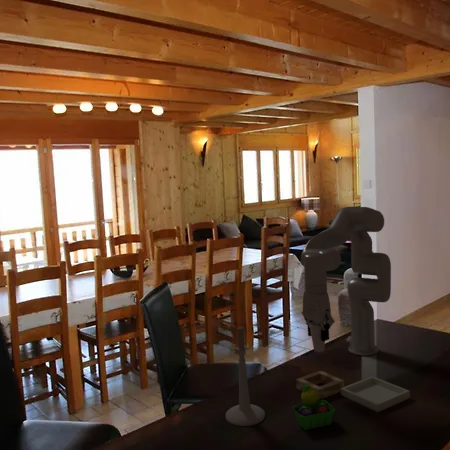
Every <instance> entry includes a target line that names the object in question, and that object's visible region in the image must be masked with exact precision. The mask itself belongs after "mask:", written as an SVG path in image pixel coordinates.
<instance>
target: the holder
mask: <svg viewBox="0 0 450 450" xmlns="http://www.w3.org/2000/svg"><path fill="white" fill-rule="evenodd" d="M295 382H296V383H295V384H296V385H295V386H296V388H295V389H297V390H299V391H301V392H303V386H304V385H307V384H308V385H310V386H312V387H313V388H314V390H315V391H316V392H317V394H318V396H319V400H318V401H320V399H321V400H324V399H326V398H328V396H329V397H331V396H334V395H336V394H338V392H339V393H341V392H340V391H341V389H340V388H343V387H345V384H346V383H345V380H344V379H341V378H339V377H337V376H335V375H333V374H330V373H327V372H325V371H323V370H318V371H315V372H312V373H309V374H307V375H304V376H300V377H299V378H296V379H295ZM318 384H323V385H320V386H319V385H318ZM325 397H326V398H325ZM323 398H324V399H323Z"/></svg>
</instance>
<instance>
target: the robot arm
mask: <svg viewBox="0 0 450 450" xmlns="http://www.w3.org/2000/svg"><path fill="white" fill-rule="evenodd" d="M384 226H385V217H384V215H383V212H381V211H380V210H377V209H374V208H372V207H367V206H344V207H342V208H340V209H339V210H338V211H337V213H336V214H335V216H334V218H333V219H332V221H331V223H330V225H329V226H328V228H327V229H325V230H322V231H321V232H320V233H318V234H316V235H314V236H312V238H310V239H309V240H308V241H307V243H306V244H305V246H304V248H303V250H302V252H301V254H300V262H301V265H302V266H303V271H304V272H303V273H304V291H303V297H302V311H301V315H302V316H303V318H304V320H305V324H306V326H307V336H308V337H312V336H311V331H310V327H309V323H310V322H313V321H315V322H318V323H320V324H321V327H322V330H321V340H322V341H325V342H326V341H329V340H330V329H331V327H332V326H333V324H335V319H334V318H333V317H332V310H331V308H332V307H331V302H330V297H329V292H328V285H327V284H328V282H327V279H328V278H327V272H330V271H334V270H337V269H338V268H339V267H340V265H341V264H342V263H341V262H342V257H341V254H340V252H339V251H337V250H335V249H332V248H335V247H340V246H342V245H344V244H346V243H347V242H348V240H349V238H350V242H351V243H350V245H351V253H350V254H351V257H350V258H351V271H352V272H353V273H354V274H356V275H363V276H375V277H377V278H371V277H370V278H369V277H354V278H353V277H352V278H351V279H350V280H349V281H348V283H347V289H346V290H347V295H348V300H349V306H350V308H349V309H350V327H351V328H350V329H351V331H350V333H351V336H350V335H349V336H347V338H346V340H345V341H346V342H347V343H349V345H348V349H347V351H349V353H350V354H353V355H357V356H363V357H364V356H374V355H376V354H378V353H379V352H380V349H379V347H378V345H376V341H375V340H376V338H375V311H374V308H373V306H372V304H371V302H373V303H374V302H375V303H386V302H388V301H389V300H390V297H391V292H392V290H391V289H392V264H391V259H390V256H389V255H388V254H386V253H385V252H374V251H373V240H372V236H370V234H369V233H378V232H379V233H380V231H382V230H383V228H384ZM324 322H325V324H326V325H324Z"/></svg>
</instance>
